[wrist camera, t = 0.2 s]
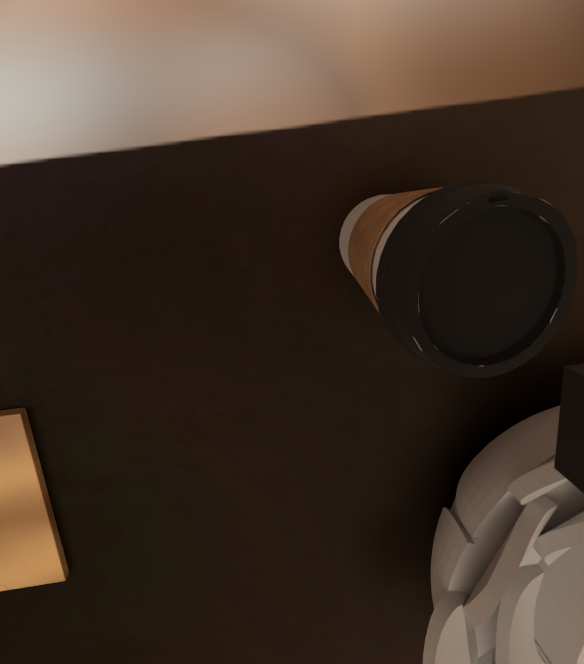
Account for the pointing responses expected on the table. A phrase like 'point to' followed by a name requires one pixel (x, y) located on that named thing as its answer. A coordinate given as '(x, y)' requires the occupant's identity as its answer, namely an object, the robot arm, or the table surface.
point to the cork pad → (25, 511)
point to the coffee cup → (464, 272)
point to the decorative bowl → (510, 557)
